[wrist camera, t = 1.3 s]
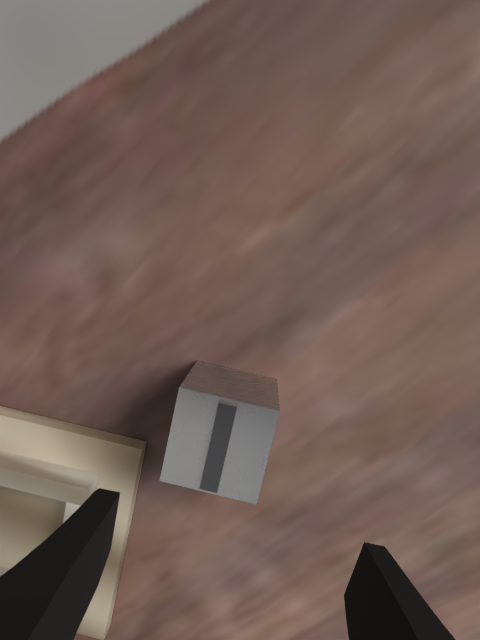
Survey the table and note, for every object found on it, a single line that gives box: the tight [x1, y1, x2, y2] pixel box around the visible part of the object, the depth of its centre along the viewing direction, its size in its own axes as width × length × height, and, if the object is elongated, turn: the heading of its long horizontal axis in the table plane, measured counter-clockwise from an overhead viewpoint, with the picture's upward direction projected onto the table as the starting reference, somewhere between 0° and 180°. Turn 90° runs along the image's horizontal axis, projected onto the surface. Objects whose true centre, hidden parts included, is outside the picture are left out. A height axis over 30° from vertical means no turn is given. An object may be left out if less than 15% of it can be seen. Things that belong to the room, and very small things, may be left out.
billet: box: [160, 360, 280, 505], centre depth 21 cm, size 4×4×5 cm
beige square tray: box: [0, 406, 147, 640], centre depth 24 cm, size 12×12×2 cm
